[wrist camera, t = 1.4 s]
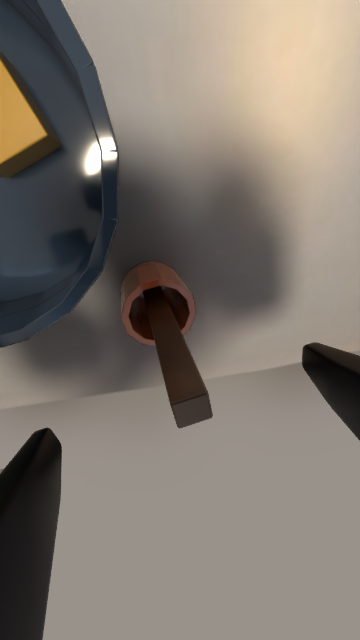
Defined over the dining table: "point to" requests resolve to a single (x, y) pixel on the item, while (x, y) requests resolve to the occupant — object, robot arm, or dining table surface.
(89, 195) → the bowl
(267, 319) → the dining table surface
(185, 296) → the holder
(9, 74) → the mustard block
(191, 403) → the stick
